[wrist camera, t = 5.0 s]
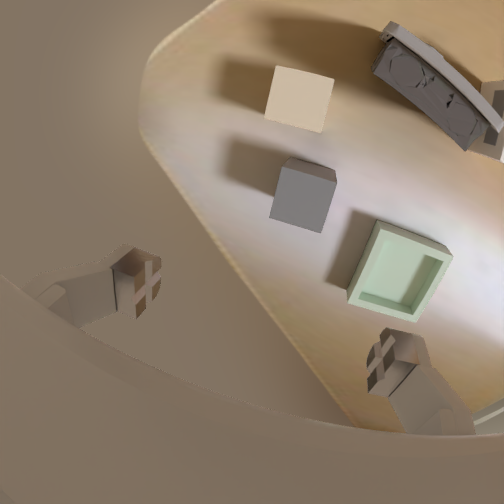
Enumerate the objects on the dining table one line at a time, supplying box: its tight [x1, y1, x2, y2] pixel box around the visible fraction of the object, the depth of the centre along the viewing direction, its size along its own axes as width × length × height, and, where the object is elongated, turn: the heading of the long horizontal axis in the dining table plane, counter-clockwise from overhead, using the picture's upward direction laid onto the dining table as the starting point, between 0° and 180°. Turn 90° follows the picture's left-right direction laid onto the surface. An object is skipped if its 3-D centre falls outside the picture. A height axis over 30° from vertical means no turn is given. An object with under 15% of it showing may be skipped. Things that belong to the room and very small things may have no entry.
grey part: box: [269, 157, 337, 233], centre depth 22 cm, size 4×4×5 cm
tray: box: [347, 220, 453, 323], centre depth 25 cm, size 8×8×2 cm
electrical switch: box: [371, 21, 504, 151], centre depth 14 cm, size 9×5×9 cm, turn 60°
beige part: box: [264, 65, 335, 133], centre depth 19 cm, size 4×4×5 cm
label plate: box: [467, 80, 504, 163], centre depth 14 cm, size 7×1×6 cm, turn 168°
